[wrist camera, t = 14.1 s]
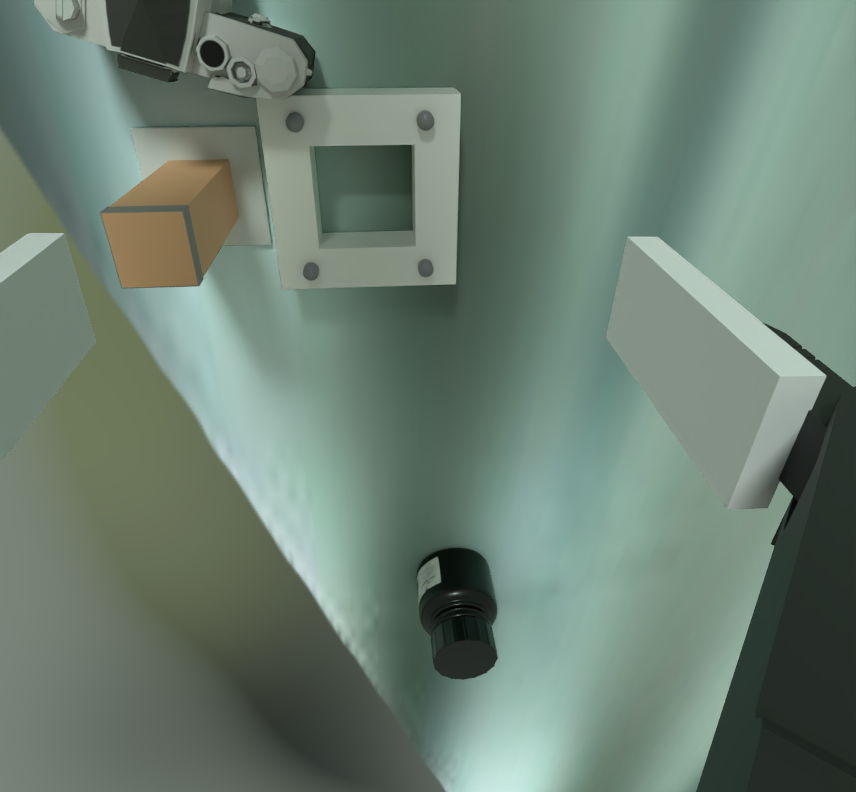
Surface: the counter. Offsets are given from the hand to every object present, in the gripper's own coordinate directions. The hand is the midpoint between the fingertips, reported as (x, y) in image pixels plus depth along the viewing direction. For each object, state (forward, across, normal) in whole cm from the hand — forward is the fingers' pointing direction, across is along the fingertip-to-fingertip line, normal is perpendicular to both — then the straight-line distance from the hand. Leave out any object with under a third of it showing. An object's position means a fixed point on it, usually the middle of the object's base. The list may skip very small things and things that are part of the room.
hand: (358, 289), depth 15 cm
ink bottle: (+37, +9, -52) cm, 64 cm away
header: (+37, 0, -7) cm, 37 cm away
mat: (+37, -13, -7) cm, 39 cm away
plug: (+36, -13, -7) cm, 39 cm away
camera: (+37, -10, +5) cm, 39 cm away
